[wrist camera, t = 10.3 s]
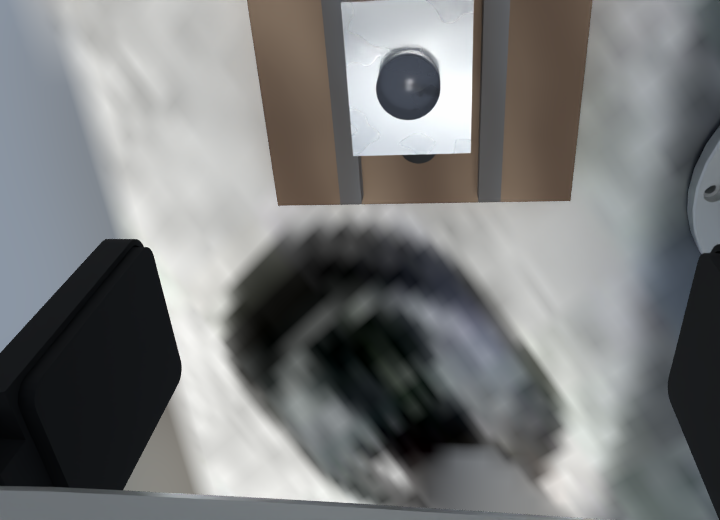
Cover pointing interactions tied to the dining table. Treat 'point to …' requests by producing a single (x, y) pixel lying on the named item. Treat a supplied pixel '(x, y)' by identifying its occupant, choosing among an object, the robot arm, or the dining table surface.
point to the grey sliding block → (409, 75)
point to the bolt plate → (488, 115)
